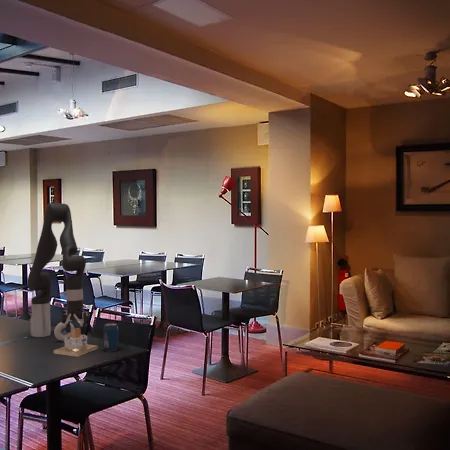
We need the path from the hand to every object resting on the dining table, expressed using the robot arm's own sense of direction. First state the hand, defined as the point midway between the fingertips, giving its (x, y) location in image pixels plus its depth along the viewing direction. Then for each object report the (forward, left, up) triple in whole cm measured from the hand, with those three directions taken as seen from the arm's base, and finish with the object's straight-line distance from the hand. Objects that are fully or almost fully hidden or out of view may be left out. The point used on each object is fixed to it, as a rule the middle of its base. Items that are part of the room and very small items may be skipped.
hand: (75, 333), depth 238 cm
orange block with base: (0, 0, -3) cm, 3 cm away
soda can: (+14, +8, -9) cm, 18 cm away
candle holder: (0, 0, -8) cm, 8 cm away
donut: (-18, +13, -9) cm, 24 cm away
